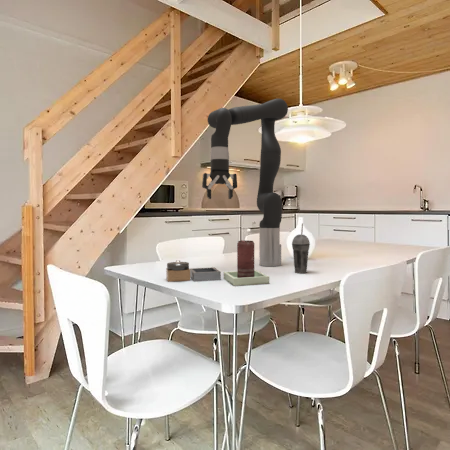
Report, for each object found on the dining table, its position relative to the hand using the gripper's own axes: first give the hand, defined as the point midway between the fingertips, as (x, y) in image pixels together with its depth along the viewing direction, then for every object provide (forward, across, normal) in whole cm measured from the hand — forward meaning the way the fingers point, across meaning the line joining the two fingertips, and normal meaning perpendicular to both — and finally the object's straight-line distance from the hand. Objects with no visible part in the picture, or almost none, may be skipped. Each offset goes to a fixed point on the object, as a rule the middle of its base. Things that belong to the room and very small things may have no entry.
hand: (219, 199), depth 147 cm
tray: (+30, -4, +21) cm, 37 cm away
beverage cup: (+30, -31, +11) cm, 45 cm away
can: (+30, -4, +21) cm, 37 cm away
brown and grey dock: (+30, +13, +11) cm, 35 cm away
